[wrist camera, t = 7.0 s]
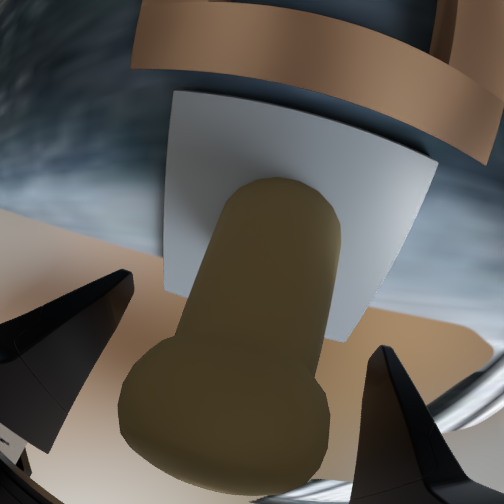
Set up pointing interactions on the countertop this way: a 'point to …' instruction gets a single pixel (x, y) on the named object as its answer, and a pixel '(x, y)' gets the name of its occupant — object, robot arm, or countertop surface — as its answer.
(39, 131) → the countertop surface
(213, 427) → the cork
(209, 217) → the mat
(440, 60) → the pocket frame
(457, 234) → the countertop surface
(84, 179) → the countertop surface
